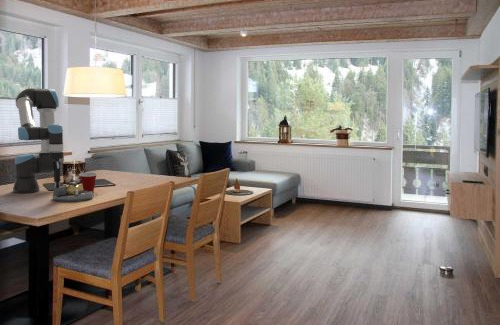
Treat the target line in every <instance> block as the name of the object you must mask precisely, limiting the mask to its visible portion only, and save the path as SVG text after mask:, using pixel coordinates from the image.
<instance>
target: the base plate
mask: <svg viewBox="0 0 500 325" xmlns="http://www.w3.org/2000/svg"><path fill="white" fill-rule="evenodd" d="M93 198H94V191H93V192H92V191H88V190H83V193H81V194H78V190H75V194H65V195H60V196H54V194H53V193H52V200H53V201H54V202H58V203H75V202H76V203H77V202H85V201H90V200H92V199H93Z"/></svg>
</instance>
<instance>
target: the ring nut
mask: <svg viewBox="0 0 500 325" xmlns="http://www.w3.org/2000/svg"><path fill="white" fill-rule="evenodd" d="M52 190H53V191H52V192H53V193H52V195H53V194H54V196H60V195H65V194H75V190H78V194H81V193H83V184H82V183H79V184H78V183H77V181H70V182H68V184H67V183H65V184H62V186H61V185H60V187H55V186H54V187H53V189H52Z"/></svg>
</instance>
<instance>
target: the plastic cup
mask: <svg viewBox="0 0 500 325" xmlns="http://www.w3.org/2000/svg"><path fill="white" fill-rule="evenodd" d="M78 175H79V177H80V181H81V184H83V190H88V191H92V192H93V193H94V191H95V185H96V178H97V176H98V173H97V172H91V171H89V172H88V171H87V172H86V171H85V172H81V173H79V174H78Z"/></svg>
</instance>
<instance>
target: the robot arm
mask: <svg viewBox="0 0 500 325" xmlns="http://www.w3.org/2000/svg"><path fill="white" fill-rule="evenodd" d="M15 106H16V108H17V109H18V110H17V111H18V114H19V122H20V123H19V124H20V126H19V127H17V136H18V140H19V141H40V151H39V152H38V155H37V154H36V153H24V154H20V155H16V156H15V158H14V166H15V167H14V168H15V181H14V183H13V187H12V192H13V193H15V194H30V193H36V192H39V191H40V190H41V189H40V185H39V182H38V180H37V175H43V174H44V175H45V174H48V175H49V174H51V175H52V174H53V179H54V180H53V182H54V188H55V187H61V167H62V159H64V139H63V138H64V136H63V135H64V133H63V131H64V130H63V125H62V124H59V123H55V112H56V111H57V109H58V108H59V107H60V103H59V96H58V92H57V91H56V90H55V89H53V88H31V87H30V88H29V87H28V88H26V89H23V90H22V91H20V92H19V93H18V94H17V96H16V98H15ZM33 108H36V111H37V112H38V113H39V126H36V123H35V118H34V111H33Z"/></svg>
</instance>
